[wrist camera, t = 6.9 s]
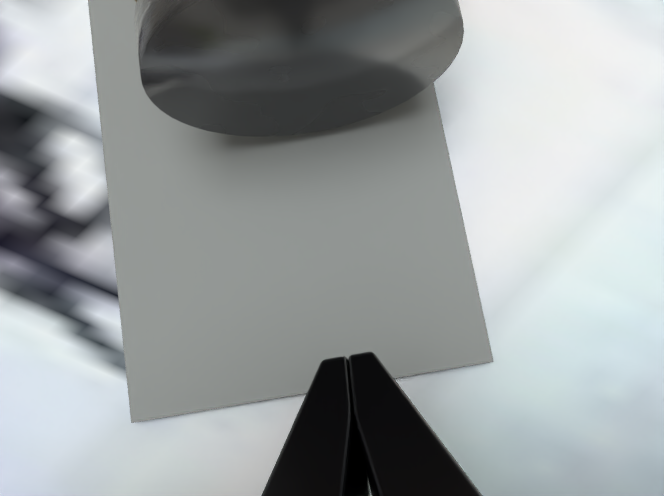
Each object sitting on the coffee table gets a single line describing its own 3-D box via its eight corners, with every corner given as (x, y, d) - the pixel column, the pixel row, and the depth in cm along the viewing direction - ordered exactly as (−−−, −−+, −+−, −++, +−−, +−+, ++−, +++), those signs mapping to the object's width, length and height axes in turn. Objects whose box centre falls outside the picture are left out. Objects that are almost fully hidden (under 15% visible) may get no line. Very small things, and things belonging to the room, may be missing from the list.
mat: (490, 361, 16) (493, 361, 15) (137, 421, 16) (131, 422, 16) (362, -237, 19) (361, -250, 19) (74, -175, 20) (69, -186, 19)
